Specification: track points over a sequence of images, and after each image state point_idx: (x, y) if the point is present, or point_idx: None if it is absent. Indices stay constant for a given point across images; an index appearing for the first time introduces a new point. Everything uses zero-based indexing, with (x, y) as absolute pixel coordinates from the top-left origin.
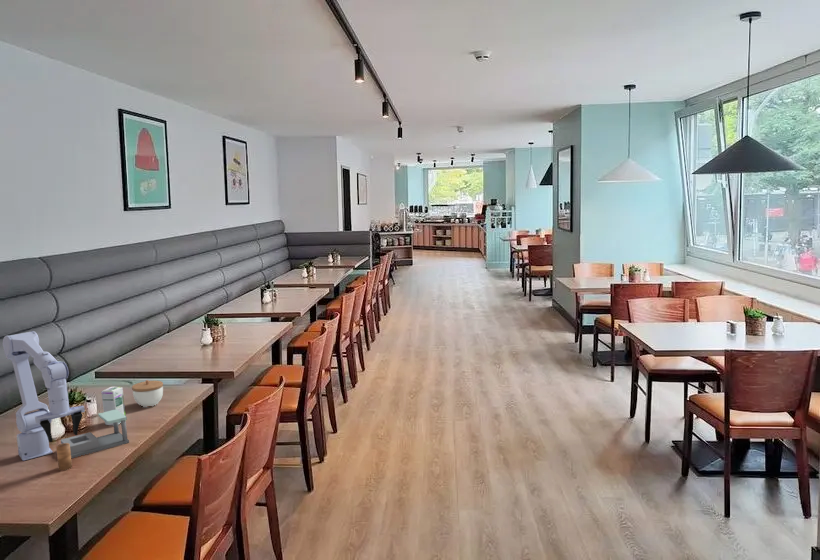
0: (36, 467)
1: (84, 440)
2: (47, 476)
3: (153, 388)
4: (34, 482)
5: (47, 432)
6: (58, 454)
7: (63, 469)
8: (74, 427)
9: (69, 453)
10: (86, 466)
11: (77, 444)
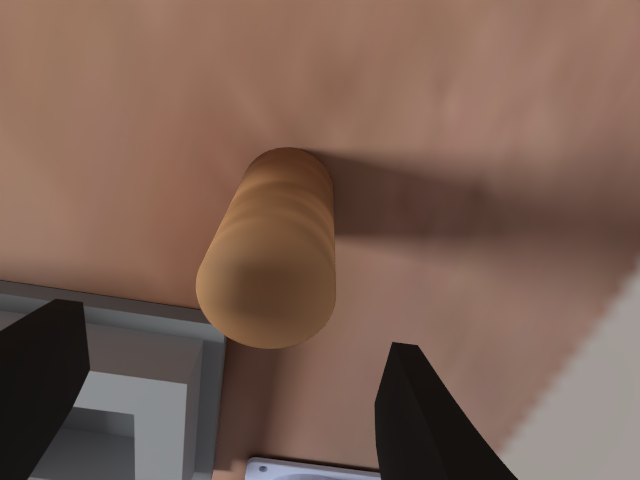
0: None
1: (55, 447)
2: (440, 151)
3: None
4: (552, 122)
5: (508, 476)
6: (333, 238)
7: (316, 161)
8: (8, 416)
9: (239, 202)
10: (162, 75)
11: (113, 381)
